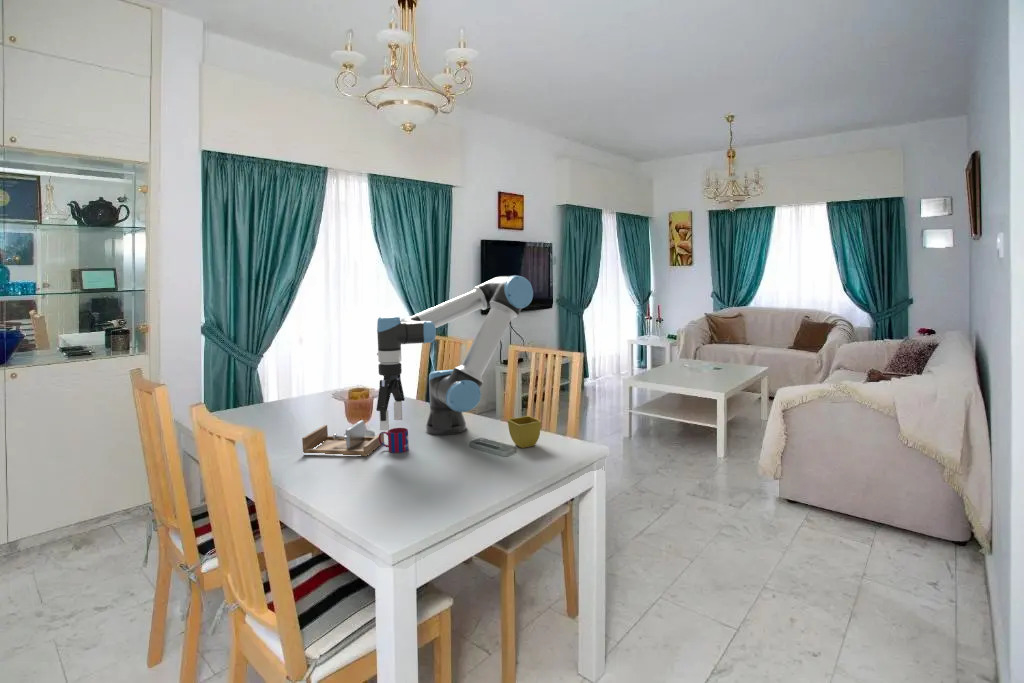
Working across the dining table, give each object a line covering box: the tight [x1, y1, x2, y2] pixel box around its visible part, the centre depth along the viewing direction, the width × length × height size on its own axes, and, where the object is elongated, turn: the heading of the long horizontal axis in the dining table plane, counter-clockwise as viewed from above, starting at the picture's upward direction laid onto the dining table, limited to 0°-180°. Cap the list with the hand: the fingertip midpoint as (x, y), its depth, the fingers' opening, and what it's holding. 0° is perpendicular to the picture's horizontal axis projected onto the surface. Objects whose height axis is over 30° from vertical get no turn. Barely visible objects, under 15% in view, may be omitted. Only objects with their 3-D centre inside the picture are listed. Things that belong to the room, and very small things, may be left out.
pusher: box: [332, 420, 366, 450], centre depth 186 cm, size 8×12×7 cm, turn 173°
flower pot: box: [507, 415, 542, 449], centre depth 185 cm, size 9×9×9 cm
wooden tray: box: [301, 424, 385, 457], centre depth 186 cm, size 22×16×6 cm
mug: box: [378, 427, 410, 454], centre depth 184 cm, size 7×10×7 cm
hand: (391, 424), depth 183 cm, fingers open, 13 cm apart
